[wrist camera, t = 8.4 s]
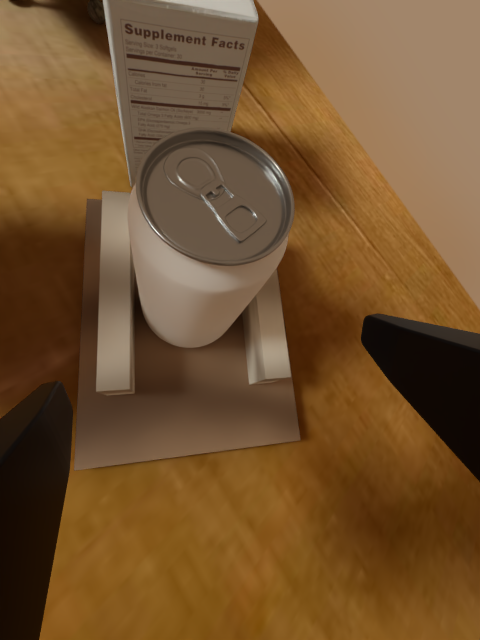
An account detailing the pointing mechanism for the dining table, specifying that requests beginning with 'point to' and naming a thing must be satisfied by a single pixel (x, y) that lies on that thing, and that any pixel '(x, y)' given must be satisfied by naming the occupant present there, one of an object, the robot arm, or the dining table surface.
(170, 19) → the supplement box
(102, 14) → the tabletop clock
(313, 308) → the dining table surface
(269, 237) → the can
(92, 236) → the slot block
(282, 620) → the dining table surface
